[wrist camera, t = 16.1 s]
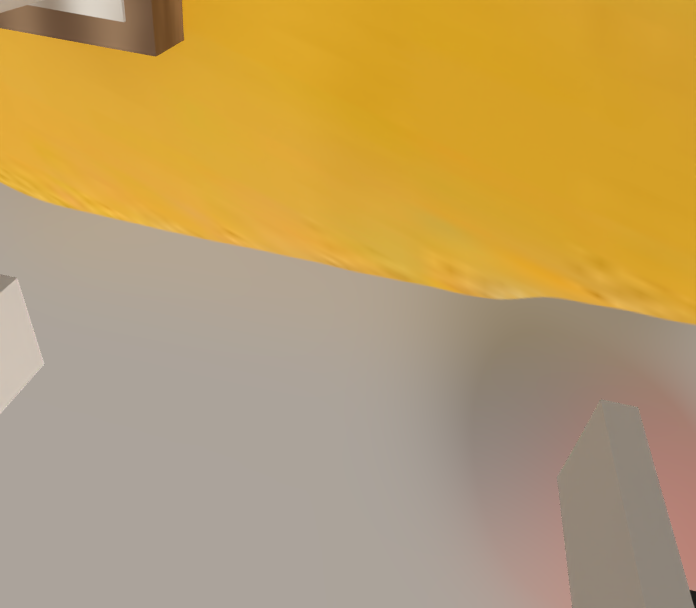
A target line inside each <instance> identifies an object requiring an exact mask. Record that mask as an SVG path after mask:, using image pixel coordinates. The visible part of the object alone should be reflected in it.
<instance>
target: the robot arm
mask: <svg viewBox="0 0 696 608" xmlns="http://www.w3.org/2000/svg"><path fill="white" fill-rule="evenodd" d="M43 365H44V361H43V359H42V355H41V352H40V349H39V345H38V342H37V339H36V336H35V333H34V330H33V327H32V323H31V320H30V317H29V314H28V311H27V307H26V304H25V301H24V298H23V295H22V292H21V289H20V285H19V282H18V279H17V278H15V277H10V276H5V275H0V414H1V412H2V411H3V410H4V409H5V408H6V407H7V406H8V405H9V403H10V402H11V401H12V400H13V399H14V398H15V397H16V395H17V394H18V393H19V392H20V391H21V390H22V389H23V388H24V387H25V385H26V384H27V383H28V382H29V381H30V380H31V379H32V377H33V376H34V375H35V374H36V373H37V372H38V371H39V369H40V368H41V367H42V366H43ZM557 482H558V490H559V498H560V506H561V516H562V524H563V532H564V541H565V550H566V558H567V567H568V575H569V584H570V592H571V601H572V608H696V591H692V590H689V587H688V583H687V580H686V576H685V573H684V569H683V565H682V562H681V558H680V555H679V551H678V548H677V544H676V541H675V537H674V534H673V530H672V527H671V523H670V519H669V516H668V512H667V509H666V505H665V502H664V498H663V495H662V491H661V487H660V484H659V480H658V477H657V473H656V470H655V466H654V463H653V459H652V455H651V452H650V448H649V445H648V441H647V438H646V435H645V431H644V427H643V423H642V420H641V416H640V413H639V409H638V407H634V406H629V405H625V404H620V403H615V402H610V401H605V400H600V401H599V403H598V405H597V407H596V409H595V411H594V412H593V414H592V416H591V418H590V420H589V421H588V423H587V425H586V427H585V428H584V430H583V432H582V434H581V436H580V437H579V439H578V441H577V443H576V444H575V446H574V448H573V450H572V451H571V453H570V455H569V457H568V459H567V460H566V462H565V464H564V466H563V468H562V469H561V471H560V473H559V475H558V477H557Z"/></svg>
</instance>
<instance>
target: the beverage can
mask: <svg viewBox="0 0 696 608" xmlns="http://www.w3.org/2000/svg"><path fill="white" fill-rule="evenodd" d="M39 1H42V0H0V13H2V12H5V11H9V10H12V9H15V8H19V7H22V6H25V5H29V4H32V3H36V2H39Z"/></svg>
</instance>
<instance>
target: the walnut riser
mask: <svg viewBox="0 0 696 608" xmlns="http://www.w3.org/2000/svg"><path fill="white" fill-rule="evenodd" d="M0 28H3V29H9V30H14V31H20V32H25V33H31V34H36V35H41V36H47V37H52V38H58V39H63V40H69V41H74V42H80V43H85V44H91V45H96V46H101V47H107V48H112V49H118V50H123V51H129V52H134V53H140V54H145V55H151V56H158V55H159V54H161V53H163V52H164V51H166V50H168V49H169V48H171V47H173V46H175V45H176V44H178V43H180V42H181V41H183V40H184V35H183V16H182V0H42V1H39V2H36V3H32V4H29V5H25V6H22V7H19V8H15V9H12V10H9V11H5V12H2V13H0Z"/></svg>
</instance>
